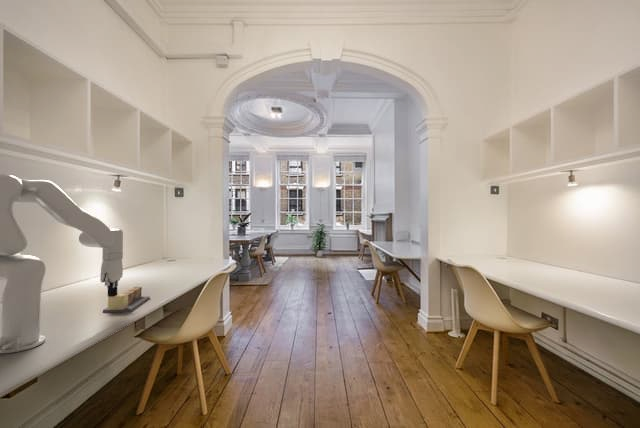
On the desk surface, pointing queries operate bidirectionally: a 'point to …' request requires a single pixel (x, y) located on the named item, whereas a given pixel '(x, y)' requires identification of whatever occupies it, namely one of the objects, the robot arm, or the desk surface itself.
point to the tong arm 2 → (134, 294)
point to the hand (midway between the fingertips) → (112, 295)
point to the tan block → (118, 302)
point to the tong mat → (130, 305)
